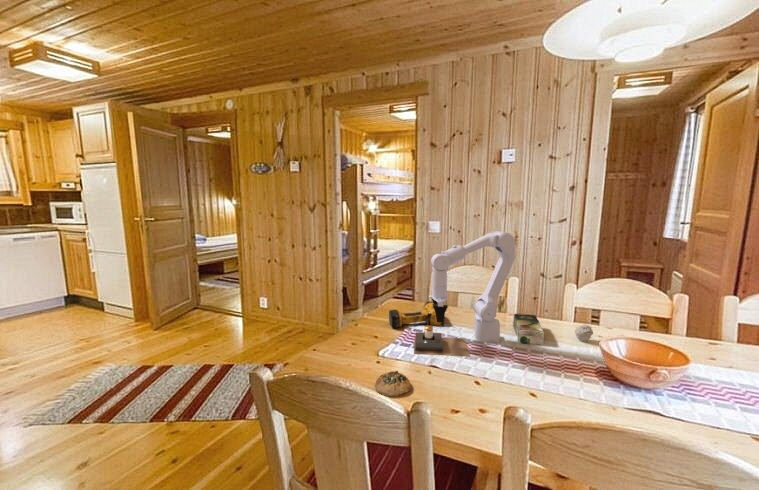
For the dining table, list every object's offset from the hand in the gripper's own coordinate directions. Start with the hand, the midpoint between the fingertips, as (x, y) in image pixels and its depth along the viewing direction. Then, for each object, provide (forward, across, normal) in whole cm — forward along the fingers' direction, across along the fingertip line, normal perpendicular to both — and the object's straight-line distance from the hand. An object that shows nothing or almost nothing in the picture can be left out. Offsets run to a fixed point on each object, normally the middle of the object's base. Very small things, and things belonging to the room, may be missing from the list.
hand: (439, 318), depth 139 cm
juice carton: (+10, -10, +37) cm, 40 cm away
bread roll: (+10, +35, -16) cm, 40 cm away
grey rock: (+10, -5, +57) cm, 58 cm away
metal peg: (+8, +6, -4) cm, 11 cm away
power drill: (+10, -25, -10) cm, 29 cm away
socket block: (+10, +6, -4) cm, 12 cm away
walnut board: (+10, +6, 0) cm, 11 cm away
